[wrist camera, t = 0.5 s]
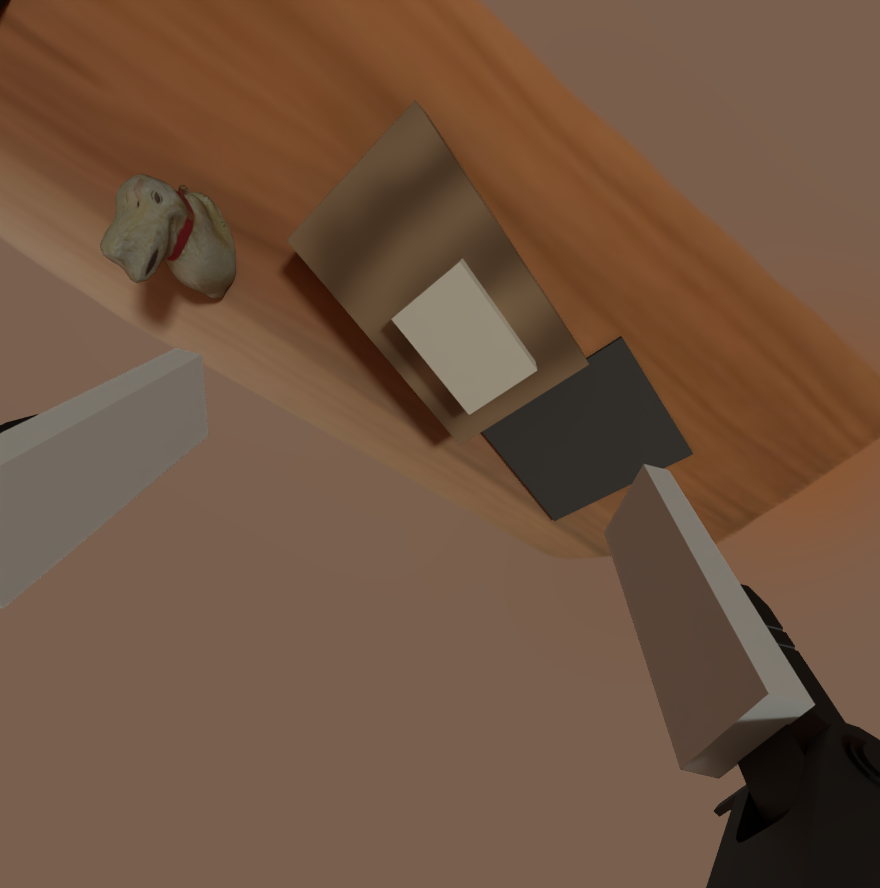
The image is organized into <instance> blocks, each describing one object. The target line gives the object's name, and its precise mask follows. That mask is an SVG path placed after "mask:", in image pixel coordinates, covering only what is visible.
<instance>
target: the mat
mask: <svg viewBox="0 0 880 888" xmlns="http://www.w3.org/2000/svg"><path fill="white" fill-rule="evenodd" d="M586 359H587V361H588V363H589V365H588V366H586V367H584V368H583V369H581V370H580V371H578V372H576V373H575V374H573V375H572V376H570V377H568V378H567V379H565V380H564V381H562V382H560V383H559V384H557V385H556V386H554V387H552V388H551V389H549V390H548V391H546V392H545V393H543V394H541V395H540V396H538V397H537V398H535V399H533V400H532V401H530V402H529V403H527V404H525V405H524V406H522V407H521V408H519V409H517V410H516V411H514V412H513V413H511V414H509V415H508V416H506V417H505V418H503V419H501V420H500V421H498V422H497V423H495V424H493V425H492V426H490V427H489V428H487V429H485V430H484V431H482V433H483V434H484V435H485V436H486V438H487V439H488V440H489V441H490V442H491V444H492V445H493V446H494V447H495V449H496V450H497V451H498V452H499V454H500V455H501V456H502V457H503V458H504V460H505V461H506V462H507V463H508V465H509V466H510V467H511V468H512V470H513V471H514V472H515V473H516V474H517V476H518V477H519V478H520V479H521V481H522V482H523V483H524V484H525V486H526V487H527V488H528V489H529V490H530V492H531V493H532V494H533V495H534V497H535V498H536V499H537V500H538V502H539V503H540V504H541V505H542V506H543V508H544V509H545V510H546V511H547V513H548V514H549V515H550V516H551V518H552V519H553V520H554V521H556V520H558V519H560V518H562V517H564V516H566V515H568V514H570V513H572V512H574V511H576V510H579V509H581V508H583V507H585V506H587V505H589V504H591V503H593V502H595V501H597V500H599V499H601V498H603V497H605V496H607V495H610V494H612V493H614V492H616V491H618V490H620V489H622V488H624V487H626V486H628V485H630V484H632V483H633V481H634V479H635V478H636V476H637V474H638V472H639V471H640V469H641V467H642V465H643V464H646V465H650V466H654V467H658V468H662V469H663V468H665V467H667V466H669V465H672V464H674V463H676V462H678V461H680V460H682V459H684V458H686V457H688V456H690V455H692V454H693V453H692V451H691V449H690V448H689V446H688V445H687V443H686V441H685V440H684V438H683V436H682V435H681V433H680V431H679V430H678V428H677V427H676V425H675V423H674V422H673V420H672V418H671V417H670V415H669V413H668V412H667V410H666V409H665V407H664V405H663V404H662V402H661V400H660V399H659V397H658V395H657V394H656V392H655V391H654V389H653V387H652V386H651V384H650V382H649V381H648V379H647V377H646V376H645V374H644V372H643V371H642V369H641V368H640V366H639V364H638V363H637V361H636V359H635V358H634V356H633V354H632V353H631V351H630V350H629V348H628V346H627V345H626V343H625V341H624V340H623V338H622V337H619V338H618V339H616V340H614V341H613V342H611V343H610V344H608V345H607V346H605V347H603V348H602V349H600V350H599V351H597V352H595V353H594V354H592V355H591V356H589V357H588V358H586Z"/></svg>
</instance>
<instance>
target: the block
mask: <svg viewBox="0 0 880 888" xmlns="http://www.w3.org/2000/svg"><path fill="white" fill-rule="evenodd" d="M391 320H392V321H393V322H394V323H395V324H396V326H397V327H398V328H399V329H400V331H401V332H402V333H403V334H404V336H405V337H406V338H407V339H408V340H409V342H410V343H411V344H412V345H413V347H414V348H415V349H416V350H417V352H418V353H419V354H420V355H421V356H422V358H423V359H424V360H425V361H426V363H427V364H428V365H429V366H430V368H431V369H432V370H433V371H434V372H435V374H436V375H437V376H438V377H439V379H440V380H441V381H442V382H443V384H444V385H445V386H446V387H447V388H448V390H449V391H450V392H451V393H452V395H453V396H454V397H455V398H456V400H457V401H458V402H459V403H460V404H461V406H462V407H463V408H464V409H465V411H466V412H467V413H468V414H469V415H470V414H472V413H473V412H475V411H476V410H478V409H479V408H481V407H482V406H484V405H485V404H487V403H489V402H490V401H492V400H493V399H495V398H496V397H498V396H499V395H501V394H502V393H504V392H505V391H507V390H508V389H510V388H511V387H513V386H515V385H516V384H518V383H519V382H521V381H522V380H524V379H525V378H527V377H528V376H530V375H531V374H533V373H534V372H536V371H537V366H536V362H535V360H534V359H533V357H532V356H531V354H530V353H529V352H528V350H527V349H526V347H525V346H524V345H523V343H522V342H521V340H520V339H519V337H518V336H517V335H516V333H515V332H514V330H513V329H512V328H511V326H510V325H509V323H508V322H507V321H506V319H505V318H504V316H503V315H502V313H501V312H500V311H499V309H498V308H497V306H496V305H495V304H494V302H493V301H492V299H491V298H490V296H489V295H488V294H487V292H486V291H485V289H484V288H483V287H482V285H481V284H480V282H479V281H478V280H477V278H476V277H475V275H474V274H473V272H472V271H471V270H470V268H469V267H468V265H467V264H466V263H465V261H464V260H463V258H462V259H461V260H459V261H458V262H457V263H456V264H455V265H454V266H452V267H451V268H450V269H449V270H448V271H446V272H445V273H444V274H443V275H442V276H440V277H439V278H438V279H437V280H436V281H435V282H433V283H432V284H431V285H430V286H429V287H427V288H426V289H425V290H424V291H423V292H421V293H420V294H419V295H418V296H417V297H416V298H414V299H413V300H412V301H411V302H410V303H408V304H407V305H406V306H405V307H404V308H402V309H401V310H400V311H399V312H398V313H397V314H396V315H395V316H394V317H393V318H392V319H391Z"/></svg>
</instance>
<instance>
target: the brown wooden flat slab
mask: <svg viewBox="0 0 880 888" xmlns="http://www.w3.org/2000/svg"><path fill="white" fill-rule="evenodd" d="M287 242H288V243H289V244H290V245H291V246H292V248H293V249H294V250H295V251H296V252H297V253H298V255H299V256H300V257H301V258H302V259H303V261H304V262H305V263H306V264H307V265H308V266H309V268H310V269H311V270H312V271H313V272H314V273H315V275H316V276H317V277H318V278H319V279H320V281H321V282H322V283H323V284H324V285H325V286H326V288H327V289H328V290H329V291H330V292H331V294H332V295H333V296H334V297H335V298H336V299H337V301H338V302H339V303H340V304H341V305H342V307H343V308H344V309H345V310H346V311H347V312H348V314H349V315H350V316H351V317H352V318H353V320H354V321H355V322H356V323H357V324H358V325H359V327H360V328H361V329H362V330H363V331H364V333H365V334H366V335H367V336H368V337H369V338H370V340H371V341H372V342H373V343H374V344H375V345H376V347H377V348H378V349H379V350H380V351H381V353H382V354H383V355H384V356H385V357H386V358H387V360H388V361H389V362H390V363H391V364H392V366H393V367H394V368H395V369H396V370H397V371H398V373H399V374H400V375H401V376H402V377H403V379H404V380H405V381H406V382H407V383H408V384H409V386H410V387H411V388H412V389H413V390H414V392H415V393H416V394H417V395H418V396H419V397H420V399H421V400H422V401H423V402H424V403H425V405H426V406H427V407H428V408H429V409H430V410H431V412H432V413H433V414H434V415H435V416H436V418H437V419H438V420H439V421H440V422H441V423H442V425H443V426H444V427H445V428H446V429H447V430H448V432H449V433H450V434H451V435H452V436H453V438H454V439H455V440H456V441H457V442H458V443H459V445H461V444H463V443H465V442H466V441H468V440H469V439H471V438H473V437H474V436H476V435H477V434H479V433H481V432H482V431H484V430H485V429H487V428H489V427H490V426H492V425H493V424H495V423H497V422H498V421H500V420H501V419H503V418H505V417H506V416H508V415H509V414H511V413H513V412H514V411H516V410H517V409H519V408H521V407H522V406H524V405H525V404H527V403H529V402H530V401H532V400H533V399H535V398H537V397H538V396H540V395H541V394H543V393H545V392H546V391H548V390H549V389H551V388H552V387H554V386H556V385H557V384H559V383H560V382H562V381H564V380H565V379H567V378H568V377H570V376H572V375H573V374H575V373H576V372H578V371H580V370H581V369H583V368H584V367H586V366H588V365H589V363H588V361H587V359H586V358H585V356H584V354H583V352H582V350H581V348H580V347H579V345H578V344H577V342H576V341H575V339H574V338H573V336H572V335H571V333H570V332H569V330H568V328H567V327H566V325H565V324H564V322H563V321H562V319H561V318H560V316H559V315H558V313H557V312H556V310H555V309H554V307H553V306H552V304H551V303H550V301H549V300H548V298H547V296H546V295H545V293H544V292H543V290H542V289H541V287H540V286H539V284H538V283H537V281H536V280H535V278H534V277H533V275H532V274H531V272H530V271H529V269H528V268H527V266H526V264H525V263H524V261H523V260H522V258H521V257H520V255H519V254H518V252H517V251H516V249H515V248H514V246H513V245H512V243H511V242H510V240H509V239H508V237H507V236H506V234H505V232H504V231H503V229H502V228H501V226H500V225H499V223H498V222H497V220H496V219H495V217H494V216H493V214H492V213H491V211H490V210H489V208H488V207H487V205H486V203H485V202H484V200H483V199H482V197H481V196H480V194H479V193H478V191H477V190H476V188H475V187H474V185H473V184H472V182H471V181H470V179H469V178H468V176H467V175H466V173H465V171H464V170H463V168H462V167H461V165H460V164H459V162H458V161H457V159H456V158H455V156H454V155H453V153H452V152H451V150H450V149H449V147H448V146H447V144H446V143H445V141H444V139H443V138H442V136H441V135H440V133H439V132H438V130H437V129H436V127H435V126H434V124H433V123H432V121H431V120H430V118H429V117H428V115H427V114H426V112H425V111H424V110H423V109H422V107H421V106H420V105H419V104H418V103H417V101H416V100H415V101H414V102H413V103H412V104H411V105H410V106H409V107H408V109H407V110H406V111H405V112H404V113H403V114H402V115H401V116H400V117H399V118H398V119H397V120H396V122H395V123H394V124H393V125H392V126H391V127H390V128H389V129H388V130H387V131H386V132H385V134H384V135H383V136H382V137H381V138H380V139H379V140H378V141H377V142H376V143H375V144H374V145H373V147H372V148H371V149H370V150H369V151H368V152H367V153H366V154H365V155H364V156H363V157H362V159H361V160H360V161H359V162H358V163H357V164H356V165H355V166H354V167H353V168H352V169H351V170H350V172H349V173H348V174H347V175H346V176H345V177H344V178H343V179H342V180H341V181H340V182H339V183H338V185H337V186H336V187H335V188H334V189H333V190H332V191H331V192H330V193H329V194H328V195H327V197H326V198H325V199H324V200H323V201H322V202H321V203H320V204H319V205H318V206H317V207H316V208H315V210H314V211H313V212H312V213H311V214H310V215H309V216H308V217H307V218H306V219H305V220H304V221H303V223H302V224H301V225H300V226H299V227H298V228H297V229H296V230H295V231H294V232H293V233H292V235H291V236H290V237H289V238H288V239H287ZM462 258H463V260H464V261H465V263H466V264H467V265H468V267H469V268H470V270H471V271H472V272H473V274H474V275H475V277H476V278H477V280H478V281H479V282H480V284H481V285H482V287H483V288H484V289H485V291H486V292H487V294H488V295H489V296H490V298H491V299H492V301H493V302H494V304H495V305H496V306H497V308H498V309H499V311H500V312H501V313H502V315H503V316H504V318H505V319H506V321H507V322H508V323H509V325H510V326H511V328H512V329H513V330H514V332H515V333H516V335H517V336H518V337H519V339H520V340H521V342H522V343H523V345H524V346H525V347H526V349H527V350H528V352H529V353H530V354H531V356H532V357H533V359H534V360H535V362H536V366H537V371H536V372H534V373H533V374H531V375H530V376H528V377H527V378H525V379H524V380H522V381H521V382H519V383H518V384H516V385H515V386H513V387H511V388H510V389H508V390H507V391H505V392H504V393H502V394H501V395H499V396H498V397H496V398H495V399H493V400H492V401H490V402H489V403H487V404H485V405H484V406H482V407H481V408H479V409H478V410H476V411H475V412H473V413H472V414H470V415H469V414H468V413H467V412H466V411H465V409H464V408H463V407H462V406H461V404H460V403H459V402H458V401H457V400H456V398H455V397H454V396H453V395H452V393H451V392H450V391H449V390H448V388H447V387H446V386H445V385H444V384H443V382H442V381H441V380H440V379H439V377H438V376H437V375H436V374H435V372H434V371H433V370H432V369H431V368H430V366H429V365H428V364H427V363H426V361H425V360H424V359H423V358H422V356H421V355H420V354H419V353H418V352H417V350H416V349H415V348H414V347H413V345H412V344H411V343H410V342H409V340H408V339H407V338H406V337H405V336H404V334H403V333H402V332H401V331H400V329H399V328H398V327H397V326H396V324H395V323H394V322H393V321H392V320H391V319H392V318H393V317H394V316H395V315H396V314H397V313H398V312H399V311H400V310H401V309H402V308H404V307H405V306H406V305H407V304H408V303H410V302H411V301H412V300H413V299H414V298H416V297H417V296H418V295H419V294H420V293H421V292H423V291H424V290H425V289H426V288H427V287H429V286H430V285H431V284H432V283H433V282H435V281H436V280H437V279H438V278H439V277H440V276H442V275H443V274H444V273H445V272H446V271H448V270H449V269H450V268H451V267H452V266H454V265H455V264H456V263H457V262H458V261H459V260H461V259H462Z"/></svg>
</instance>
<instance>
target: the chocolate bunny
mask: <svg viewBox="0 0 880 888" xmlns="http://www.w3.org/2000/svg"><path fill="white" fill-rule="evenodd" d="M100 248H101V251H102V253H103V256H105V257H106V258H108V259H109V260H111V261H112V262H114V263H116V264H117V265H119V266H120V267H122V268H123V269H124V270H125V272H126V273H127V275H128V276H129V278H130V279H131V280H132V281H133V282H136V283H139V282H142V281H146V280H148V279H149V278H150V277H151V276H152V275H153V274H154V273H155V271H156V270H157V268H158V267H159V265H160V264H161V262H162V261H163V260H164V259H165V261H166V263H167V265H168V267H169V268H170V270H171V272H172V273H173V274H174V275H175V277H176V278H177V279H178V280H179V281H180V282H181V283H182V284H183V285H185V286H187V287H189V288H190V289H193V290H196V291H198V292H201V293H203V294H205V295H206V296H208V297H210V298H221V297H223V296H224V295H225V291H226V289H227V287H228V286H229V285H231V284H232V282H233V279H234V278H235V274H236V268H235V251H236V250H235V248H234V243H233V239H232V234H231V231H230V228H229V226H228V224H227V223H226V221H225V220H224V219H223V217H222V214H221V212H220V211H219V209H218V208H217V207H216V205H215V204H214V203H213V202H212V201H211V200H210V199H209V198H208V197H207V196H205V195H204V194H202V193H199V194H198V193H194V192H192V193H189V190H188V188H187V187H186V186H185V185H180V186H179V190H174V189H173V188H172V187H171V186H170V185H168V184H167V183H165V182H164V181H161V180H159V179H156V178H153V177H150V176H147V175H140V174H139V175H136V176H134V177H132V178H130V179H129V180H127V181H126V182H125V183H124V184H122V185H121V187H120V188H119V190H118V192H117V194H116V216H115V219H114V221H113V223H112V224H111V225H110V226H109V228H108V229H107V231H106V232H105V234H104V235H103V239H102V241H101V244H100Z"/></svg>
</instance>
